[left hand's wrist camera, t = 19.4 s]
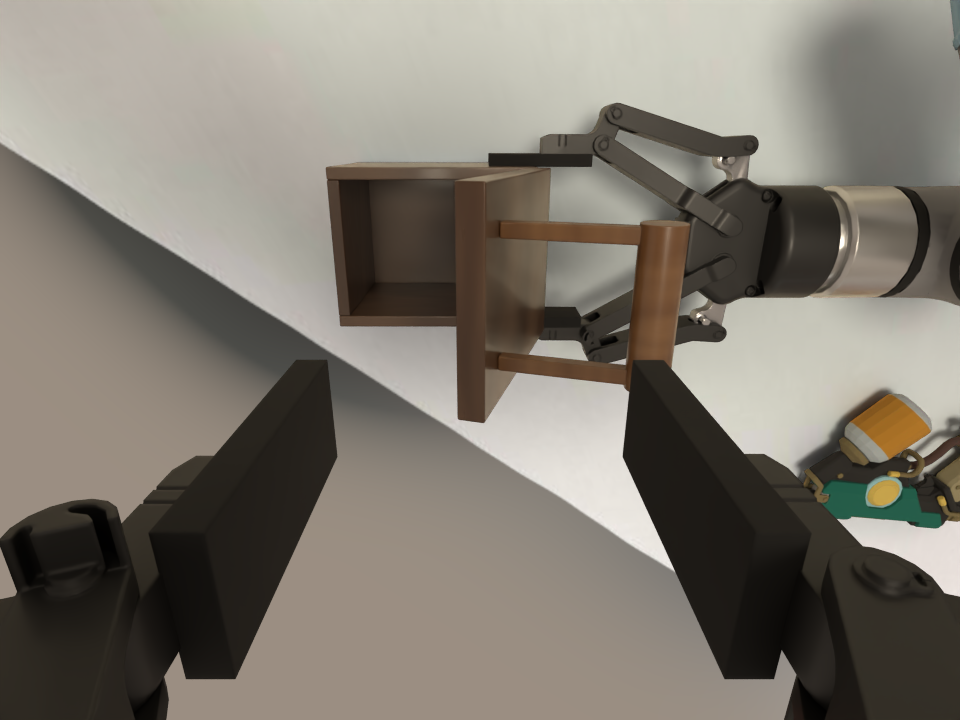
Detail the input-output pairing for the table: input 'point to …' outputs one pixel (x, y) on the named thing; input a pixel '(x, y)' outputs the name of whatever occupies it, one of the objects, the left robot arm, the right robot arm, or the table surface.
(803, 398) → the table surface
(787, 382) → the table surface
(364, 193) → the chest
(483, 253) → the lid
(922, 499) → the spray gun
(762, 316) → the table surface
